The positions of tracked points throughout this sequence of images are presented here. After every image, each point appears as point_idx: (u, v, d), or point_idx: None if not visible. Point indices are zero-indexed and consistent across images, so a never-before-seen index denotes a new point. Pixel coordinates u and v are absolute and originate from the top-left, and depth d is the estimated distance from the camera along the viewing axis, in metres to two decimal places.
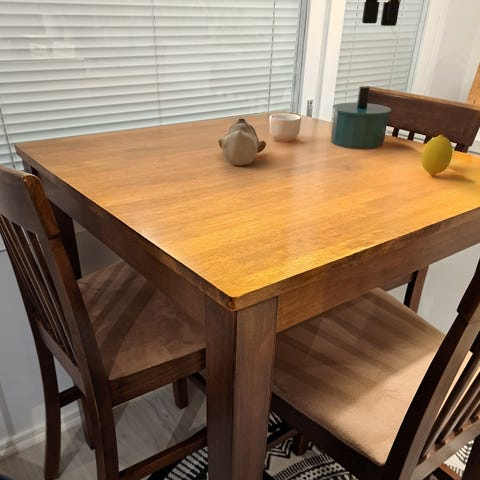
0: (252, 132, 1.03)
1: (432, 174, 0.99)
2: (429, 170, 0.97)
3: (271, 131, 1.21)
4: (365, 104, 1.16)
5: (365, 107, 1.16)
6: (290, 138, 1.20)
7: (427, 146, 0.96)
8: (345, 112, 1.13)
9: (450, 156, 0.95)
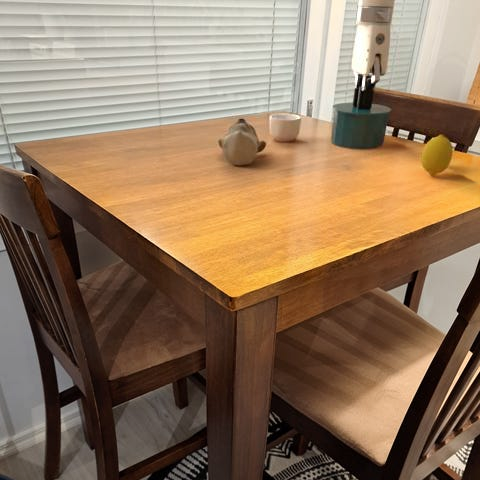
0: (252, 132, 1.03)
1: (432, 174, 0.99)
2: (429, 170, 0.97)
3: (271, 131, 1.21)
4: None
5: None
6: (290, 138, 1.20)
7: (427, 146, 0.96)
8: (345, 112, 1.13)
9: (450, 156, 0.95)
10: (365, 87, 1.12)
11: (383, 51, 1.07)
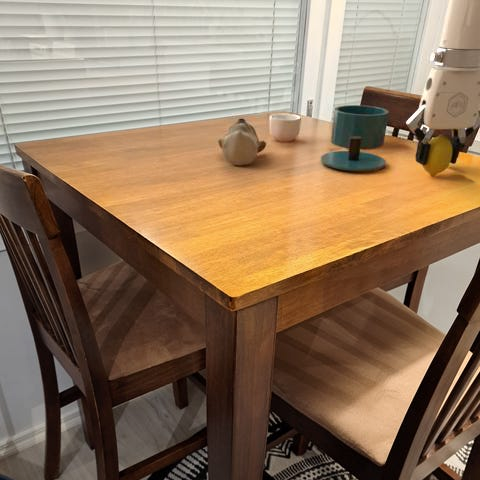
0: (252, 132, 1.03)
1: (432, 174, 0.99)
2: (429, 170, 0.97)
3: (271, 131, 1.21)
4: (357, 156, 1.04)
5: (357, 159, 1.04)
6: (290, 138, 1.20)
7: None
8: (334, 166, 1.01)
9: (450, 156, 0.95)
10: None
11: (427, 99, 0.90)
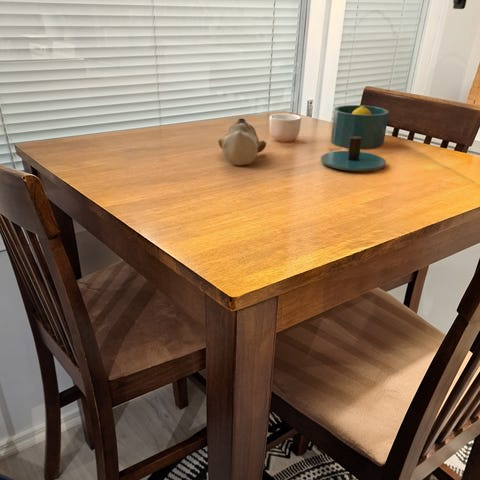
0: (252, 132, 1.03)
1: None
2: None
3: (271, 131, 1.21)
4: (357, 156, 1.04)
5: (357, 159, 1.04)
6: (290, 138, 1.20)
7: None
8: (334, 166, 1.01)
9: None
10: None
11: None
